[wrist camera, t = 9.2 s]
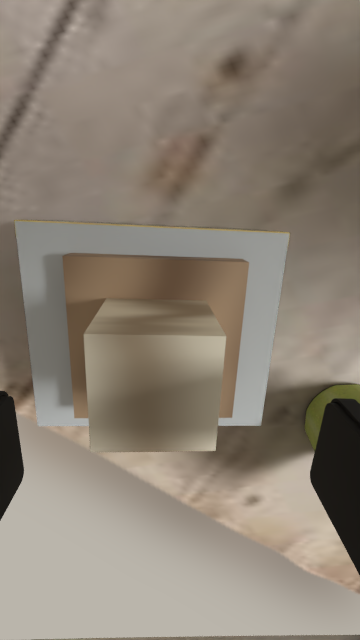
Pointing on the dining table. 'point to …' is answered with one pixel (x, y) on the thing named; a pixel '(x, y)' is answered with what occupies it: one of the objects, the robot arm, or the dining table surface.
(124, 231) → the dock
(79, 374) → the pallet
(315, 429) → the plant pot
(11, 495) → the robot arm
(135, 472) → the dining table surface
